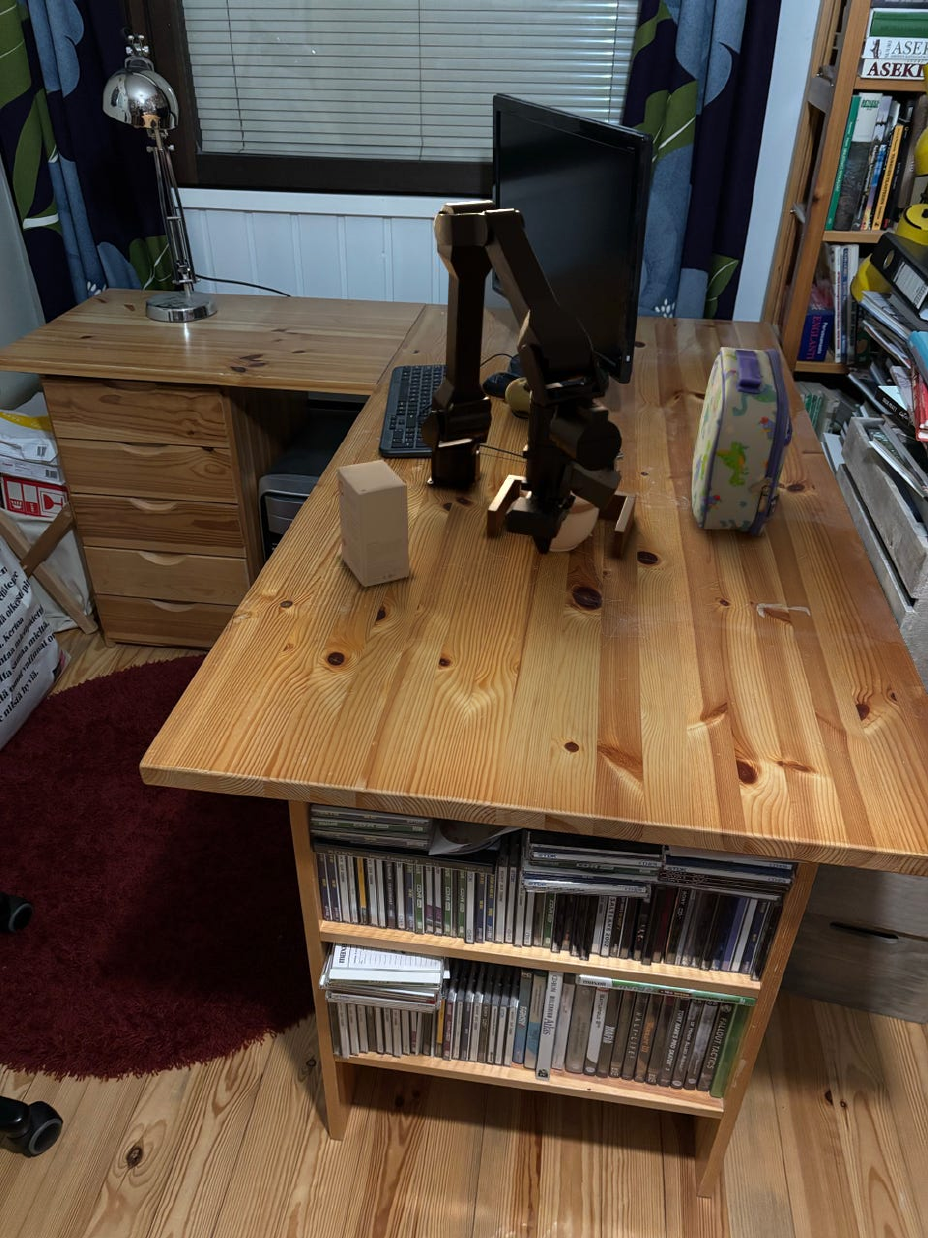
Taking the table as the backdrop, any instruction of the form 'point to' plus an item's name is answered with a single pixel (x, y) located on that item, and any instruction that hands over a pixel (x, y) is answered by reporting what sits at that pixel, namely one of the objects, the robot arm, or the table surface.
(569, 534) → the trinket box
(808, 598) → the table surface
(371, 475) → the small box
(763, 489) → the lunch box
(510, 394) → the apple
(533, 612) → the table surface
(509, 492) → the walnut bay
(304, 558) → the table surface
